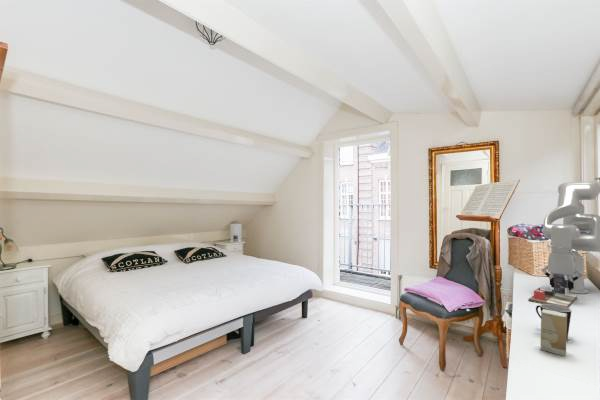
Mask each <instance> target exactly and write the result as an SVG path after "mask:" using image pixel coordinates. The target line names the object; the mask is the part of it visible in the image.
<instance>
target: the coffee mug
mask: <svg viewBox="0 0 600 400" xmlns="http://www.w3.org/2000/svg"><path fill="white" fill-rule="evenodd" d="M539 308H540V312H539V310H538V309H539ZM543 309H546V310H551V311H556V312H560V313H566V314H567V340H568V338H569V331H570V323H571V316H572V309H571V308H570V307H569V308H567V307H563V306H559V305H553V304H541V303H540V304H539V305H536V306H535V312H536V314H537V315H538V317H539V319H541V312H542V310H543Z"/></svg>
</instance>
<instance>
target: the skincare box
mask: <svg viewBox="0 0 600 400" xmlns="http://www.w3.org/2000/svg"><path fill="white" fill-rule="evenodd" d="M540 316H541V318H540V348H539V349H540V350H542V351H545V352H549V353H552V354H556V355H559V356H564V357H565V356H566V354H567V340H568V339H567V314H566V313H560V312H556V311H551V310H546V309H543V310H542V312H541V311H540Z"/></svg>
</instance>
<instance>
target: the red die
mask: <svg viewBox="0 0 600 400" xmlns="http://www.w3.org/2000/svg"><path fill="white" fill-rule="evenodd" d="M533 296H534V299H540V300H544V299H545V291H541V290H536V289H534V291H533Z"/></svg>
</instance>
